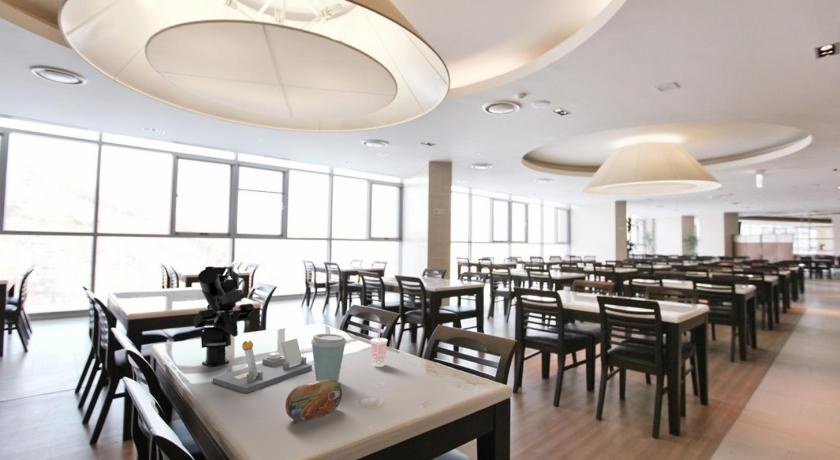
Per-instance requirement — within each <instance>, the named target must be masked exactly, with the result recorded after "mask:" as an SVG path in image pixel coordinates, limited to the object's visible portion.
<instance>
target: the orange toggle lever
mask: <svg viewBox="0 0 840 460" xmlns="http://www.w3.org/2000/svg"><path fill="white" fill-rule="evenodd" d="M241 347H242V349H243V350H244V354H245V358H246V363H247V367H248V368H249V373H250V374H254V377H256V376H258V372H257V367H256V358H255V354H254V350H253V349H254V342H253V341H252V340H245V341H244V342H243V343H242V345H241Z"/></svg>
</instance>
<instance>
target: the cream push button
mask: <svg viewBox="0 0 840 460" xmlns="http://www.w3.org/2000/svg"><path fill="white" fill-rule="evenodd" d="M280 356H281V353H280V352H270V353H268V357H269V360H272V361H274V360H278V359H280Z"/></svg>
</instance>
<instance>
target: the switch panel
mask: <svg viewBox="0 0 840 460" xmlns="http://www.w3.org/2000/svg"><path fill="white" fill-rule="evenodd" d="M301 357H302V361H301V362H298V363H295V364H292V365H289V363H287V362H285V358H284V356H281V355H280V359H278V360H274V361H272V360H269V356H268V357H264V358H262V359H261V361H262V362H261V363H257V364H256V367H257V372H258V376H256V377H254V374H250V373H249V368H248V366H246V367H244V368H239V369H237V370H234V371H233V370H232V371H230V372H226V373H224V374H220V375H217V376H213V377H212V384H216V385H218V386H222V387H225V388H228V389H231V390H235V391H237V392H240V393H243V394H247V393H251V392H252V391H256V390H259V389H262V388H265V387H267V386H269V385H272V384H275V383H278V382H280V381H281V382H282V381H283V380H287V379H289V378H291V377H294V376H297V375H301V374H303V373H306V372H308V371H311V370H313V365H312V364H310V363H307V357H306V356H301Z"/></svg>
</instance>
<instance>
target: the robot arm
mask: <svg viewBox="0 0 840 460" xmlns="http://www.w3.org/2000/svg"><path fill="white" fill-rule="evenodd" d="M239 278H240V277H239V274H238V273H237V272H235V271H234V267H233V266H232V265H206V266H205V268H203V269H202V270H201V271H200V272H199V273H198V275H197V280H198V282H199V285H200V288H201V292H202V294H203V296H204V298H205V300H206V301H207V306H206V307H207V309H202V310H199V311H198V313H197V314H196V316H195V317H194V318H193V320H192V324H193V326H194V328H196V329H199V328H204V329H203V330H202V331H201V335H200V339H201V341H200V342H201V348H202V349H203V348H206V353H205V356H206V357H205V359H206V360H205V361H202V362H201V364H202V365H205V366H209V367H217V366H220V365H223V364H227V363H229V362H230V360H228V359H226V352H227V351H226V347H229V346H232V337H238V335H239V332H238V321H242V320H243V321H244V320H247V319H248V318H249V317H250V315H251V314H252V313H253V312H254V310H255V307H254V305H253V303H242V304H240V305H239V306H238V308H236V306H237V303H239V302H241V301H242V300H244V299H245V297H246V295H245V292H244V291H243V290H242V289H239V288H240V279H239ZM234 308H235V309H234Z"/></svg>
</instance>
